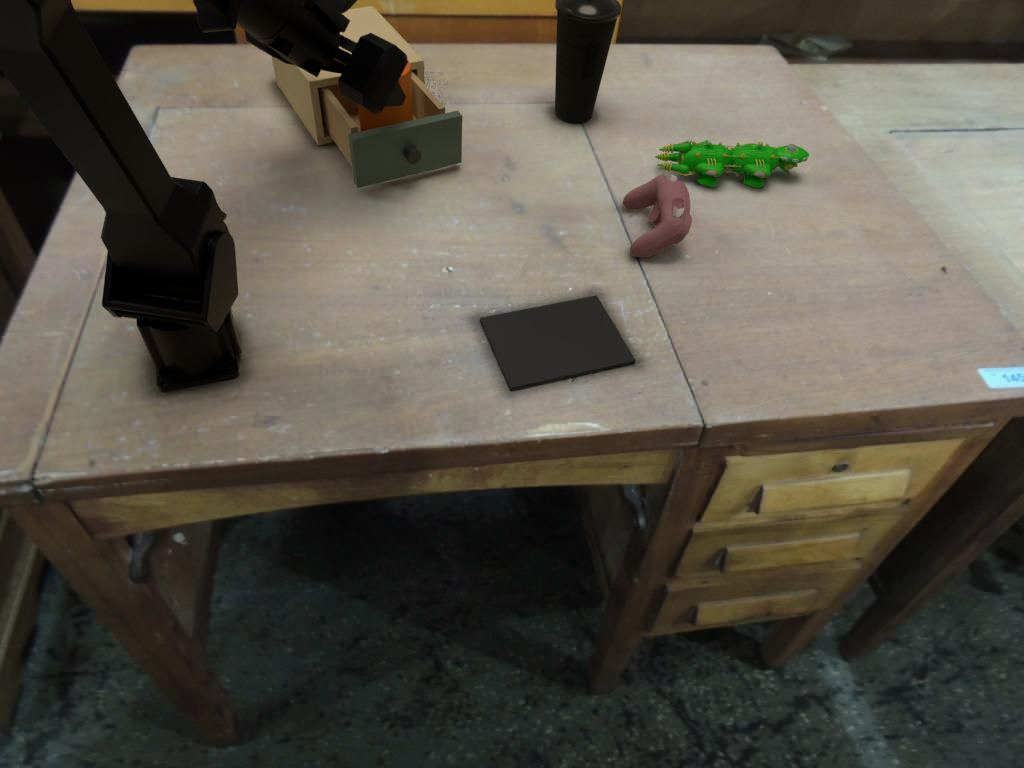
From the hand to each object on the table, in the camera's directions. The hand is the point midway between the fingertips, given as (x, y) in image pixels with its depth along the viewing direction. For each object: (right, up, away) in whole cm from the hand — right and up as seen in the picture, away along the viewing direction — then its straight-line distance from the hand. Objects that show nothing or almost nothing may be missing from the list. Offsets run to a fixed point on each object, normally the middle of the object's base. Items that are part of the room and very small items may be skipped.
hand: (373, 84), depth 80 cm
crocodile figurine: (+41, -7, +9) cm, 42 cm away
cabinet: (-6, +3, +14) cm, 16 cm away
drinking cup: (+23, +2, +16) cm, 28 cm away
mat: (+19, -28, -11) cm, 36 cm away
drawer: (0, -4, +7) cm, 8 cm away
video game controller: (+30, -16, +1) cm, 34 cm away
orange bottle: (+1, -4, +6) cm, 7 cm away
